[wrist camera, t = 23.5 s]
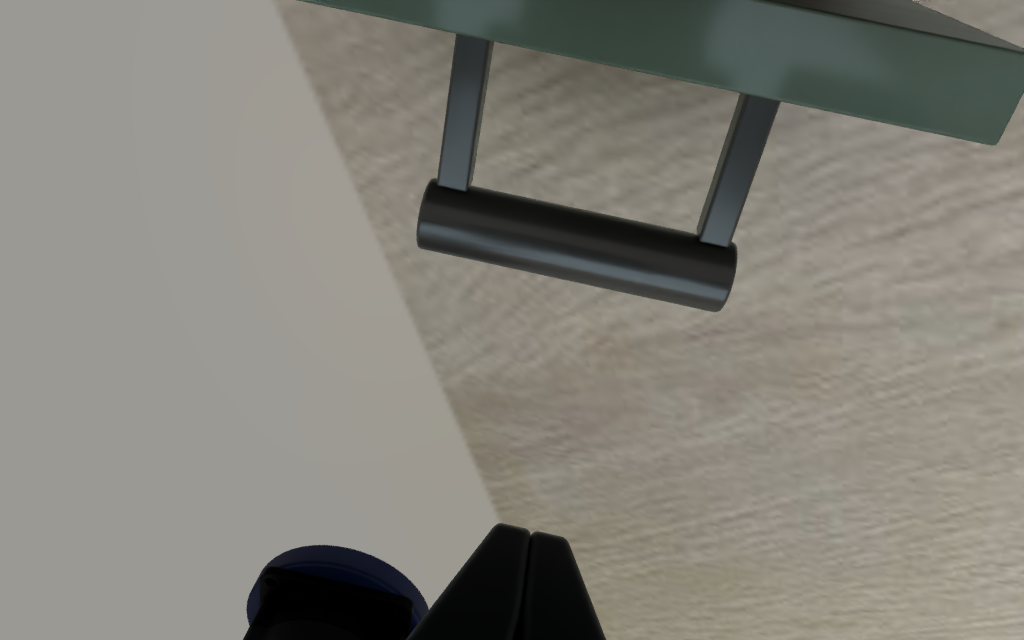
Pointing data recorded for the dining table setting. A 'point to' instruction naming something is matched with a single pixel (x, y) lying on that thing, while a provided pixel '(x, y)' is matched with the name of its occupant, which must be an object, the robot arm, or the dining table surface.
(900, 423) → the dining table surface
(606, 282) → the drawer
